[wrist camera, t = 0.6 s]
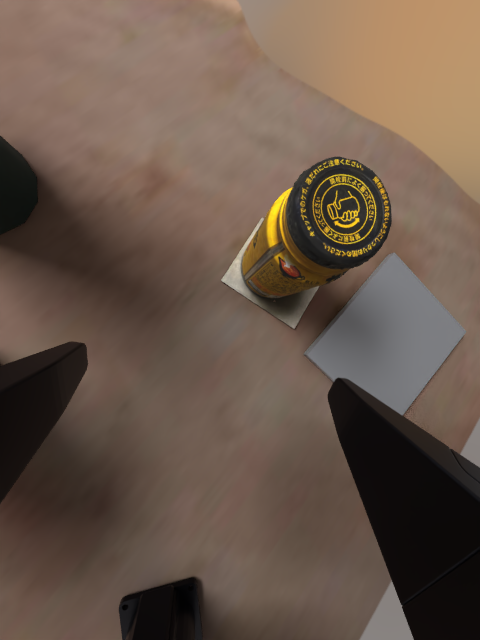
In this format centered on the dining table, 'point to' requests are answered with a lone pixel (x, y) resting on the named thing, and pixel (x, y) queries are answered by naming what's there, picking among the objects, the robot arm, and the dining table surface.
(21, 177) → the wine bottle
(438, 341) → the board
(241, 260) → the condiment
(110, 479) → the dining table surface
